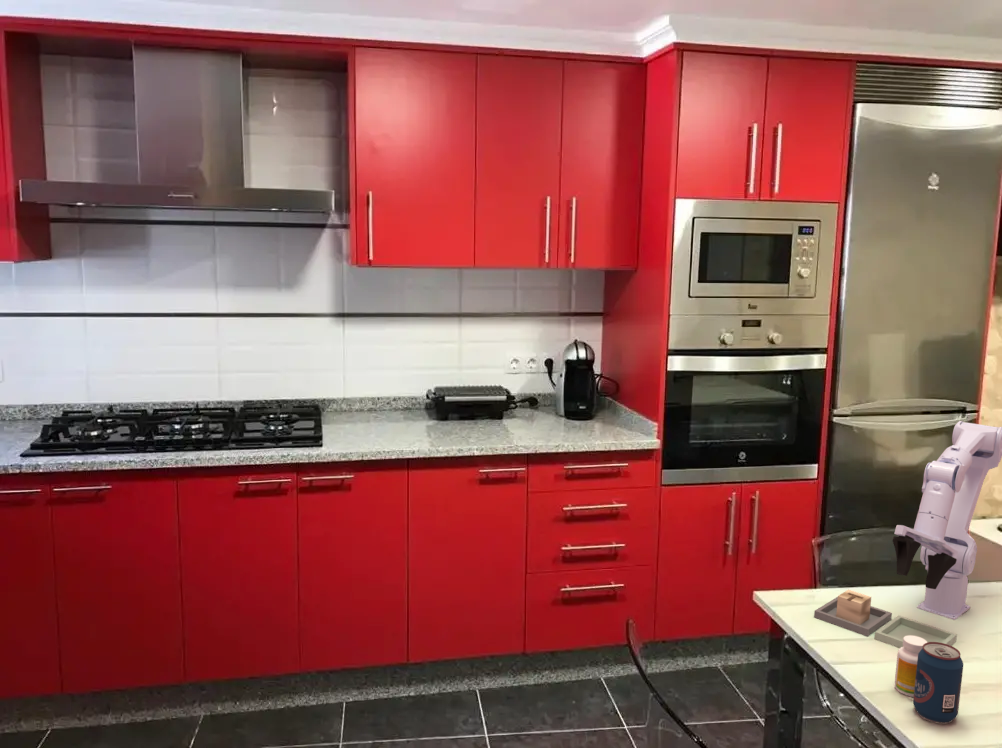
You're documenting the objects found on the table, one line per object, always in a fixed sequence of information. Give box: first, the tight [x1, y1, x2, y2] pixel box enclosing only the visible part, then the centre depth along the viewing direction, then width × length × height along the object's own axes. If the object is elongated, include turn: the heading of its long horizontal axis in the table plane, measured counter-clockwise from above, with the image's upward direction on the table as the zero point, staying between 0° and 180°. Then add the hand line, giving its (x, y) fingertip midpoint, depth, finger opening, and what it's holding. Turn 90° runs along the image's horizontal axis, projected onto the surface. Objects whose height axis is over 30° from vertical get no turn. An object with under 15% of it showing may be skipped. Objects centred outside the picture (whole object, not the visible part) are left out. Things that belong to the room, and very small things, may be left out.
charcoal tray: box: [813, 596, 893, 638], centre depth 181 cm, size 12×12×2 cm
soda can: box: [912, 642, 964, 724], centre depth 145 cm, size 7×7×12 cm
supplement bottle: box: [894, 635, 927, 698], centre depth 152 cm, size 5×5×10 cm
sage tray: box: [873, 614, 958, 649], centre depth 172 cm, size 12×12×2 cm
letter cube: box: [836, 589, 872, 625], centre depth 180 cm, size 5×5×5 cm
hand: (916, 581), depth 169 cm, fingers open, 7 cm apart
